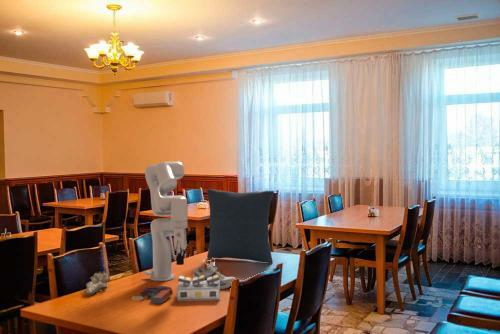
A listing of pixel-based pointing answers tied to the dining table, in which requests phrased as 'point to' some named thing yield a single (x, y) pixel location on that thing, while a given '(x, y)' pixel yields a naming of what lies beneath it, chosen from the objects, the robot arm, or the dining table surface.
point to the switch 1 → (184, 279)
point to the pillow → (239, 225)
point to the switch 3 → (212, 279)
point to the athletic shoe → (211, 271)
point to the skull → (97, 283)
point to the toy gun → (155, 294)
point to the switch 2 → (198, 279)
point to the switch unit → (198, 291)
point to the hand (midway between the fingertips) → (180, 264)
